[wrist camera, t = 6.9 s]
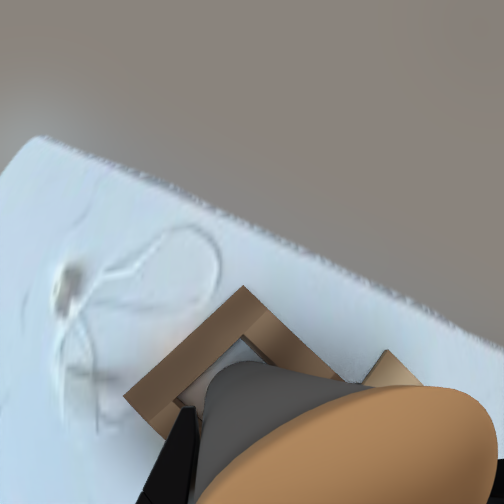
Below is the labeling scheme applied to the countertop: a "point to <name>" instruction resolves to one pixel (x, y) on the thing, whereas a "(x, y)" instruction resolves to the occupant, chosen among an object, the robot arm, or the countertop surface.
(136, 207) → the countertop surface
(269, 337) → the wooden square frame
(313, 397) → the plug
